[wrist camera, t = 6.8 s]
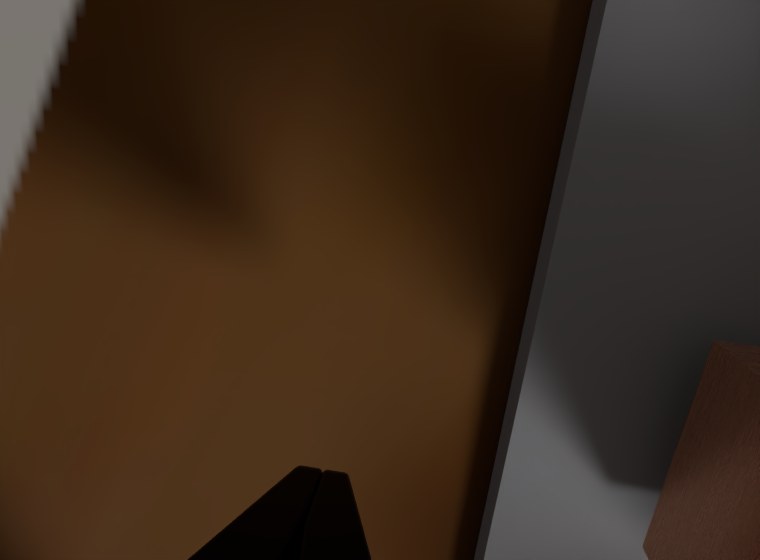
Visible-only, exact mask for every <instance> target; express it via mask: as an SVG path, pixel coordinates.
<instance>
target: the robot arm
mask: <svg viewBox="0 0 760 560" xmlns="http://www.w3.org/2000/svg"><path fill="white" fill-rule="evenodd" d="M188 560H371V556H370V552H369V549H368V545H367V541H366V538H365V534H364V530H363V526H362V523H361V519H360V515H359V512H358V508H357V504H356V501H355V497H354V493H353V490H352V486H351V482H350V479H349V476H348V474H347V473H344V472H338V471H332V470H325V471H324V472H323V473H322V470H321V469H319V468H314V467H308V466H298V467H296V468H295V469H293V470H292V471H291V472H290V473H289V474H288V475H286V476H285V477H284V478H283V479H282V480H280V481H279V482H278V483H277V484H276V485H275V486H273V487H272V488H271V489H270V490H269V491H268V492H266V493H265V494H264V495H263V496H262V497H261V498H259V499H258V500H257V501H256V502H255V503H253V504H252V505H251V506H250V507H249V508H248V509H246V510H245V511H244V512H243V513H242V514H241V515H239V516H238V517H237V518H236V519H235V520H234V521H232V522H231V523H230V524H229V525H228V526H226V527H225V528H224V529H223V530H222V531H221V532H219V533H218V534H217V535H216V536H215V537H214V538H212V539H211V540H210V541H209V542H208V543H206V544H205V545H204V546H203V547H202V548H201V549H199V550H198V551H197V552H196V553H195V554H194V555H192V556H191V557H190V558H189V559H188Z"/></svg>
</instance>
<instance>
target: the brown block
mask: <svg viewBox="0 0 760 560" xmlns="http://www.w3.org/2000/svg"><path fill="white" fill-rule="evenodd" d="M642 547H643V549H644V551H645V553H646V555H647V557H648V559H649V560H760V347H759V346H751V345H744V344H737V343H729V342H722V341H713V343H712V346H711V349H710V352H709V355H708V358H707V361H706V364H705V367H704V369H703V372H702V375H701V378H700V381H699V384H698V387H697V390H696V393H695V395H694V398H693V401H692V404H691V407H690V410H689V413H688V416H687V419H686V421H685V424H684V427H683V430H682V433H681V436H680V439H679V442H678V445H677V447H676V450H675V453H674V456H673V459H672V462H671V465H670V468H669V471H668V473H667V476H666V479H665V482H664V485H663V488H662V491H661V494H660V497H659V499H658V502H657V505H656V508H655V511H654V514H653V517H652V520H651V523H650V525H649V528H648V531H647V534H646V537H645V540H644V543H643V546H642Z"/></svg>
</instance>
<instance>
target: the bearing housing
mask: <svg viewBox="0 0 760 560" xmlns="http://www.w3.org/2000/svg"><path fill="white" fill-rule="evenodd" d="M713 341H722V342H729V343H737V344H744V345H751V346H759V347H760V0H593V1H592V6H591V10H590V15H589V20H588V24H587V29H586V34H585V39H584V43H583V48H582V53H581V57H580V62H579V67H578V72H577V76H576V81H575V86H574V90H573V95H572V100H571V105H570V109H569V114H568V119H567V123H566V128H565V133H564V137H563V142H562V147H561V152H560V156H559V161H558V166H557V170H556V175H555V180H554V185H553V189H552V194H551V199H550V203H549V208H548V213H547V217H546V222H545V227H544V232H543V236H542V241H541V246H540V250H539V255H538V260H537V265H536V269H535V274H534V279H533V283H532V288H531V293H530V297H529V302H528V307H527V312H526V316H525V321H524V326H523V330H522V335H521V340H520V345H519V349H518V354H517V359H516V363H515V368H514V373H513V377H512V382H511V387H510V392H509V396H508V401H507V406H506V410H505V415H504V420H503V425H502V429H501V434H500V439H499V443H498V448H497V453H496V458H495V462H494V467H493V472H492V476H491V481H490V486H489V490H488V495H487V500H486V505H485V509H484V514H483V519H482V523H481V528H480V533H479V538H478V542H477V547H476V552H475V556H474V560H649V559H648V557H647V555H646V553H645V551H644V549H643V547H642V546H643V543H644V540H645V537H646V534H647V531H648V528H649V525H650V523H651V520H652V517H653V514H654V511H655V508H656V505H657V502H658V499H659V497H660V494H661V491H662V488H663V485H664V482H665V479H666V476H667V473H668V471H669V468H670V465H671V462H672V459H673V456H674V453H675V450H676V447H677V445H678V442H679V439H680V436H681V433H682V430H683V427H684V424H685V421H686V419H687V416H688V413H689V410H690V407H691V404H692V401H693V398H694V395H695V393H696V390H697V387H698V384H699V381H700V378H701V375H702V372H703V369H704V367H705V364H706V361H707V358H708V355H709V352H710V349H711V346H712V343H713Z"/></svg>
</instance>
